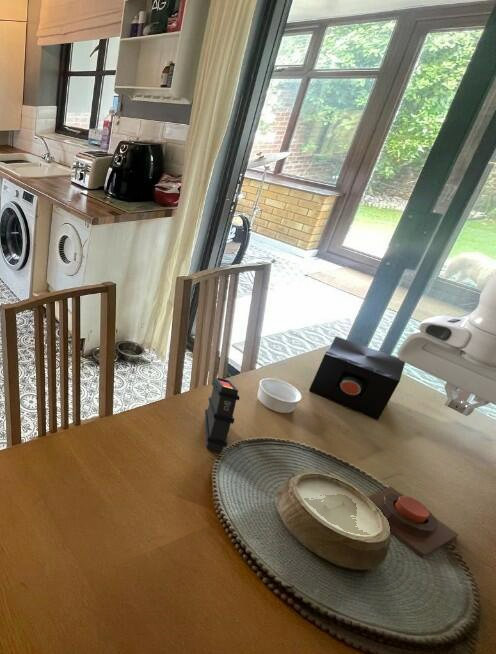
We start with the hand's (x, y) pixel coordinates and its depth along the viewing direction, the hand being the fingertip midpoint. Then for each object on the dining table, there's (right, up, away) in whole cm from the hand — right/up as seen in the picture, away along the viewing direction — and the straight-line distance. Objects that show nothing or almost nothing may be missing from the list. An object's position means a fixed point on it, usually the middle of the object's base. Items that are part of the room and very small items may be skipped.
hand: (457, 409), depth 72 cm
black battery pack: (-30, -13, +23) cm, 40 cm away
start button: (-7, -19, +1) cm, 20 cm away
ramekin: (-9, -9, +32) cm, 35 cm away
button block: (-7, -23, +3) cm, 24 cm away
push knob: (+7, -5, +29) cm, 30 cm away
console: (+12, -8, +35) cm, 38 cm away
